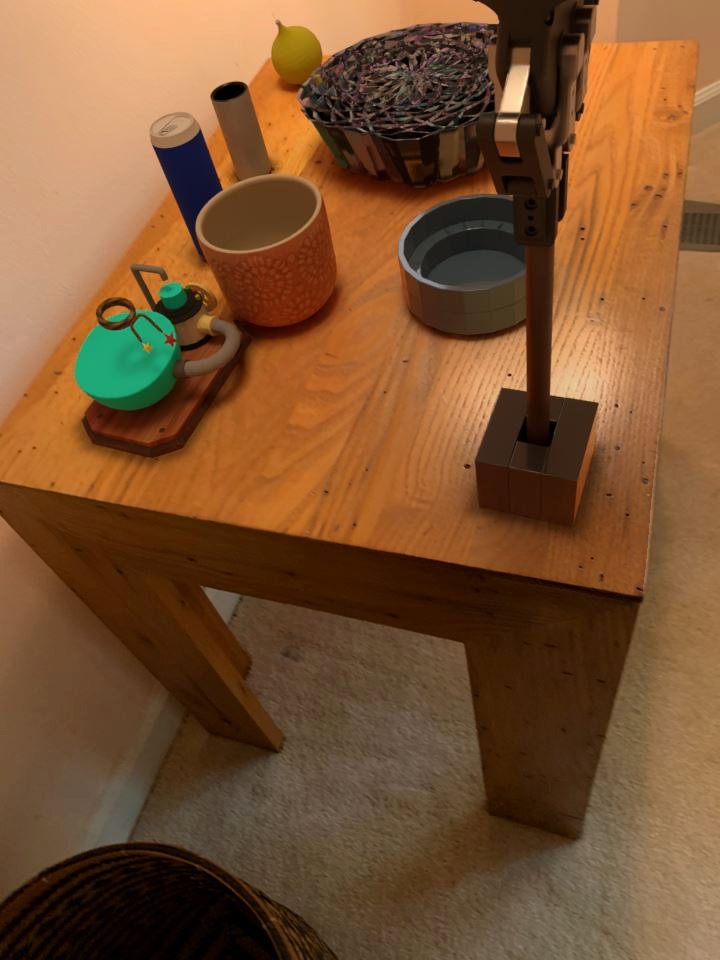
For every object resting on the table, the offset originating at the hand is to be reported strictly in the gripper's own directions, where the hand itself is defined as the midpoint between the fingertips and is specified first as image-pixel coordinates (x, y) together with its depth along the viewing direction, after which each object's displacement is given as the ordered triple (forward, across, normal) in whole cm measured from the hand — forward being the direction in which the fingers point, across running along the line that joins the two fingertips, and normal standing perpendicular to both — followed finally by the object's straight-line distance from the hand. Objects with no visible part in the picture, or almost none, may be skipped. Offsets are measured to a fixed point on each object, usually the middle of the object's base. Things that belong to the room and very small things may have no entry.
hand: (540, 228), depth 41 cm
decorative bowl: (+24, +46, +25) cm, 57 cm away
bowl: (+23, +21, +11) cm, 33 cm away
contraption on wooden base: (+24, +3, +36) cm, 43 cm away
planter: (+24, +16, +30) cm, 41 cm away
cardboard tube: (+23, +38, +45) cm, 63 cm away
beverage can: (+23, +23, +42) cm, 53 cm away
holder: (+24, 0, 0) cm, 24 cm away
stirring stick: (+21, 0, 0) cm, 21 cm away
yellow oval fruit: (+23, +60, +48) cm, 80 cm away
